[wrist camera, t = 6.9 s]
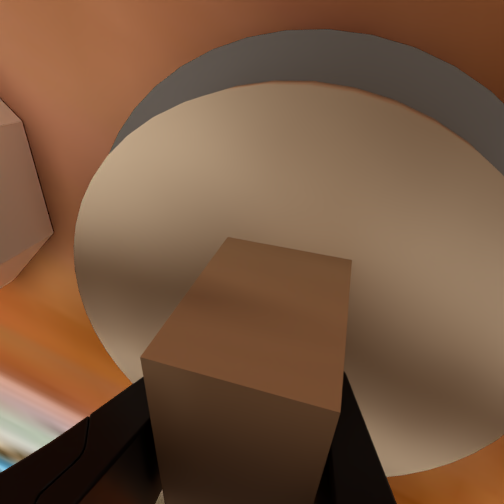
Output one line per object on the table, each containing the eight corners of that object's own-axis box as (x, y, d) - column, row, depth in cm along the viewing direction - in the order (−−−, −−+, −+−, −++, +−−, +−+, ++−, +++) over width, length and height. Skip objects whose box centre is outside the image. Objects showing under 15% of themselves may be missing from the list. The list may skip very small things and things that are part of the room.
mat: (449, 453, 15) (452, 472, 14) (136, 365, 18) (128, 377, 17) (703, 49, 7) (737, 49, 6) (73, 16, 10) (53, 15, 10)
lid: (440, 490, 13) (475, 706, 9) (125, 394, 15) (36, 522, 11) (695, 112, 6) (1446, 271, 2) (51, 59, 9) (-238, 73, 5)
